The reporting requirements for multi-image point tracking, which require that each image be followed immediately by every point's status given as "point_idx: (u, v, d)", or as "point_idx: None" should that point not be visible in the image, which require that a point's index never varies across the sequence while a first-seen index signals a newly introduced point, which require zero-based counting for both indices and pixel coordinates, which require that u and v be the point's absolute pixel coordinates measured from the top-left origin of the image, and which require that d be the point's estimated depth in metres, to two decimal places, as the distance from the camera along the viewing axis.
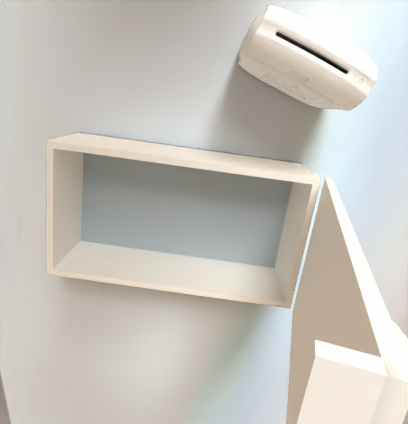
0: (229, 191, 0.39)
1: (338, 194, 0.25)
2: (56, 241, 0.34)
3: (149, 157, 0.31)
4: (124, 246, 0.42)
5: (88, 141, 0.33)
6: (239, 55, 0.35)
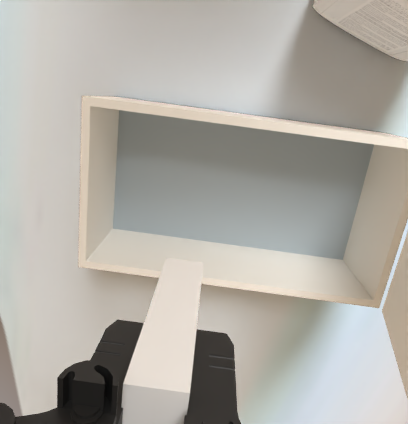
0: (293, 167, 0.32)
1: None
2: (89, 226, 0.28)
3: (213, 116, 0.24)
4: (164, 234, 0.35)
5: None
6: None
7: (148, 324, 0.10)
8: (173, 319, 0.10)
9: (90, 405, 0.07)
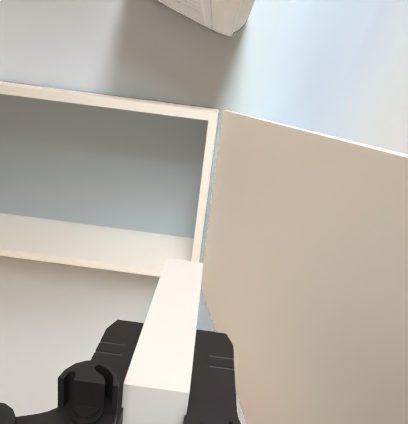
0: (135, 145, 0.33)
1: None
2: None
3: (1, 88, 0.24)
4: (18, 214, 0.35)
5: None
6: None
7: (148, 324, 0.10)
8: (173, 319, 0.10)
9: (90, 405, 0.07)
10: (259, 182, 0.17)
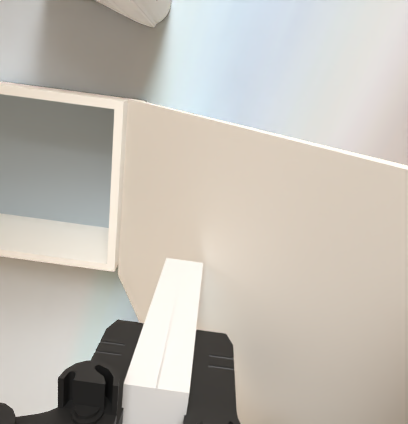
0: (64, 136, 0.33)
1: None
2: None
3: None
4: None
5: None
6: None
7: (148, 324, 0.10)
8: (173, 319, 0.10)
9: (90, 405, 0.07)
10: (169, 168, 0.17)
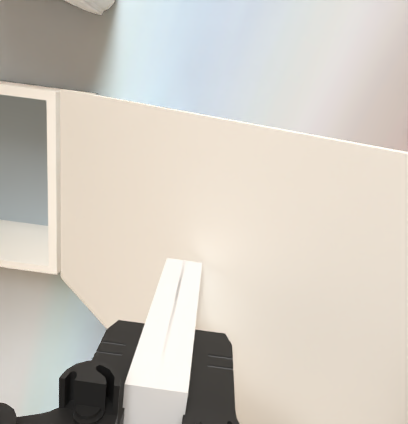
0: (12, 131, 0.31)
1: (120, 99, 0.18)
2: None
3: None
4: None
5: None
6: None
7: (149, 324, 0.10)
8: (172, 319, 0.10)
9: (91, 405, 0.07)
10: (132, 162, 0.17)
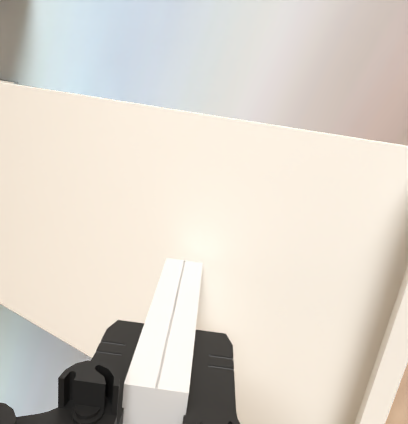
0: None
1: None
2: None
3: None
4: None
5: None
6: None
7: (149, 324, 0.10)
8: (172, 319, 0.10)
9: (90, 405, 0.07)
10: (55, 151, 0.17)
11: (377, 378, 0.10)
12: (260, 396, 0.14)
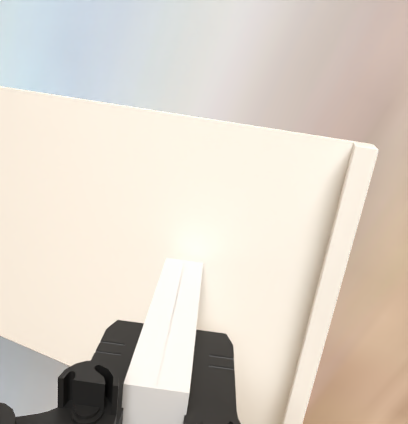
0: None
1: None
2: None
3: None
4: None
5: None
6: None
7: (148, 324, 0.10)
8: (173, 319, 0.10)
9: (90, 405, 0.07)
10: None
11: (307, 339, 0.12)
12: None
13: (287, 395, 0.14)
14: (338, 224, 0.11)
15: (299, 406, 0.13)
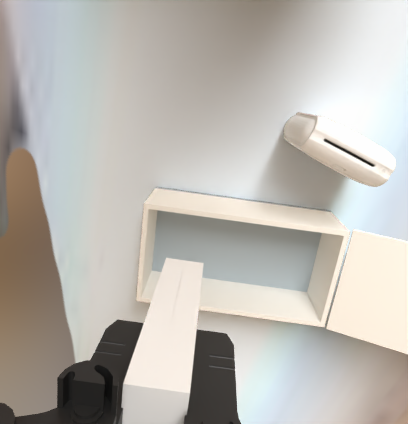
0: (273, 232, 0.49)
1: None
2: (143, 275, 0.45)
3: (221, 215, 0.41)
4: None
5: (170, 200, 0.44)
6: (284, 132, 0.45)
7: (148, 324, 0.10)
8: (173, 319, 0.10)
9: (90, 405, 0.07)
10: None
11: None
12: None
13: None
14: None
15: None
